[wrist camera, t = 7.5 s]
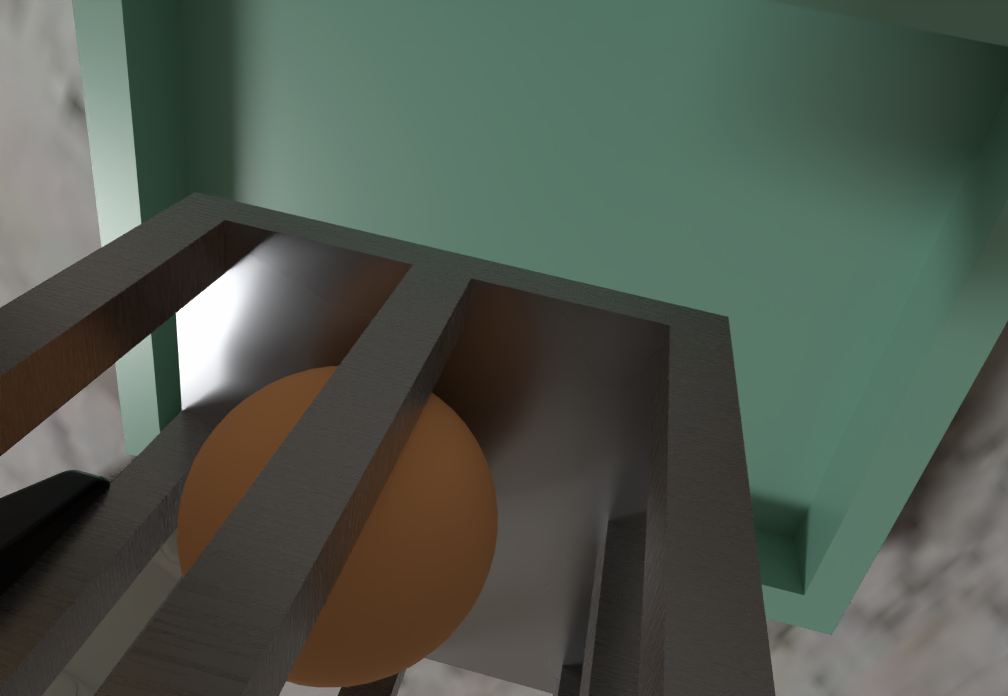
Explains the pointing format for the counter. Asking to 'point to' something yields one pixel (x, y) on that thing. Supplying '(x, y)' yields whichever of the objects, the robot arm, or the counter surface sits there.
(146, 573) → the mug
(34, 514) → the robot arm
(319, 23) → the tray
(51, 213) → the counter surface
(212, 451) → the ball
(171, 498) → the cage
